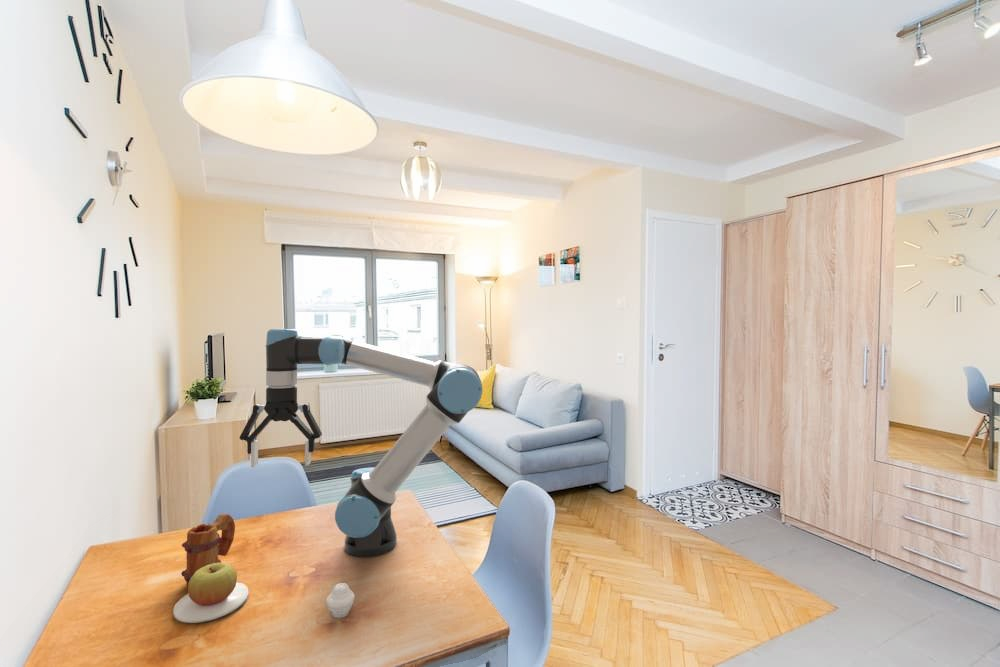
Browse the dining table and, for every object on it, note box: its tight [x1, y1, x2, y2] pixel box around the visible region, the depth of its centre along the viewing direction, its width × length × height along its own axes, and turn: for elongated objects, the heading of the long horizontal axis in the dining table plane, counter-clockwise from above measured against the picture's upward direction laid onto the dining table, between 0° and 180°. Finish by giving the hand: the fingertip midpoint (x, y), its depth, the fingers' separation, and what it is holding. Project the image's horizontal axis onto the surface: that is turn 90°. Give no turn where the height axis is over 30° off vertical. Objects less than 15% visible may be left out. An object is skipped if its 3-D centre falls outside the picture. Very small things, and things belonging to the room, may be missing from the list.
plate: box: [173, 581, 249, 624], centre depth 108 cm, size 15×15×1 cm
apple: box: [187, 562, 238, 606], centre depth 108 cm, size 10×10×8 cm
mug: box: [181, 513, 236, 587], centre depth 120 cm, size 15×8×15 cm, turn 168°
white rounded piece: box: [326, 582, 356, 619], centre depth 105 cm, size 6×6×7 cm
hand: (281, 464), depth 123 cm, fingers open, 13 cm apart
